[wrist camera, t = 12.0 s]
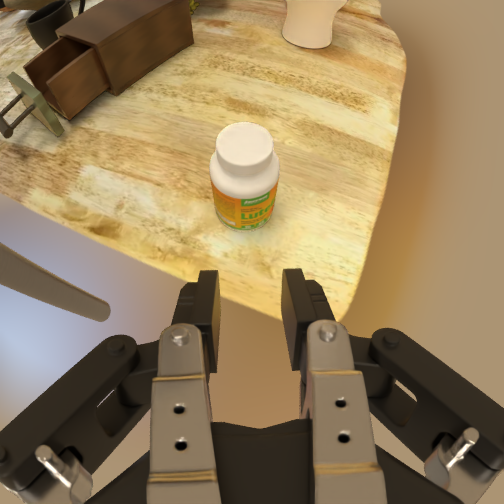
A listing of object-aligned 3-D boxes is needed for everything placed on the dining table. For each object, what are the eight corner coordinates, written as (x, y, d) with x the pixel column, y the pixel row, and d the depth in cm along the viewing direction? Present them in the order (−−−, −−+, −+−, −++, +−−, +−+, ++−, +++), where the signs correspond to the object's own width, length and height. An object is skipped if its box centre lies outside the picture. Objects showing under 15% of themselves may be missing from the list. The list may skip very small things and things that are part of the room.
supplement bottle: (242, 245, 29) (241, 189, 20) (203, 205, 30) (189, 140, 21) (284, 209, 30) (300, 145, 21) (246, 173, 31) (247, 104, 22)
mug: (105, 27, 42) (93, -13, 33) (55, 64, 39) (37, 24, 30) (82, 24, 44) (70, -12, 35) (36, 59, 40) (18, 23, 31)
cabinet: (116, 96, 35) (96, 44, 27) (74, 73, 38) (54, 30, 29) (194, 42, 39) (188, -7, 31) (143, 26, 42) (134, -16, 33)
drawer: (29, 166, 30) (-1, 132, 24) (3, 133, 33) (-21, 103, 26) (136, 72, 36) (124, 30, 29) (95, 54, 38) (82, 19, 31)
